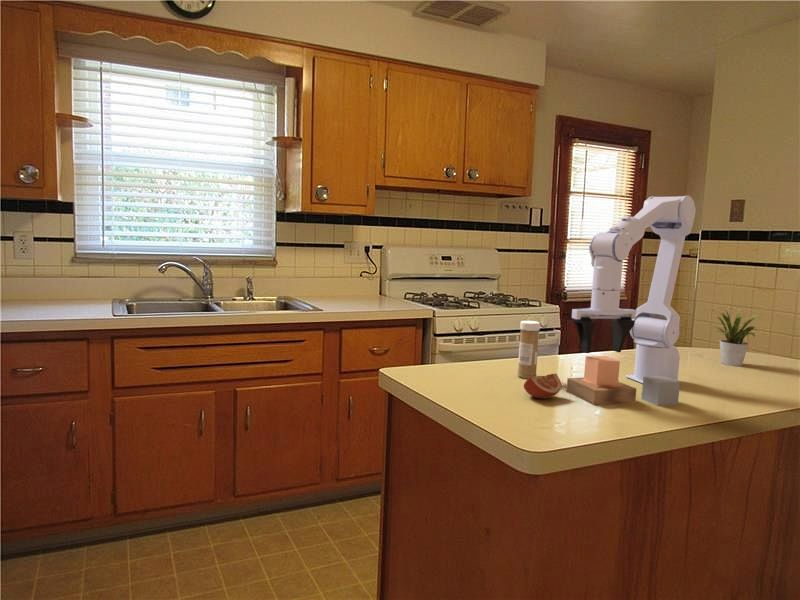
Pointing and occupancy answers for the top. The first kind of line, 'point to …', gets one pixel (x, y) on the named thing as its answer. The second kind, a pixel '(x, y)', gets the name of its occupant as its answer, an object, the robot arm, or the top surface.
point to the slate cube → (660, 390)
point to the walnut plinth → (601, 392)
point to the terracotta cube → (601, 370)
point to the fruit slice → (543, 386)
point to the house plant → (734, 340)
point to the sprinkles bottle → (528, 349)
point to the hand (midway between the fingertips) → (601, 351)
